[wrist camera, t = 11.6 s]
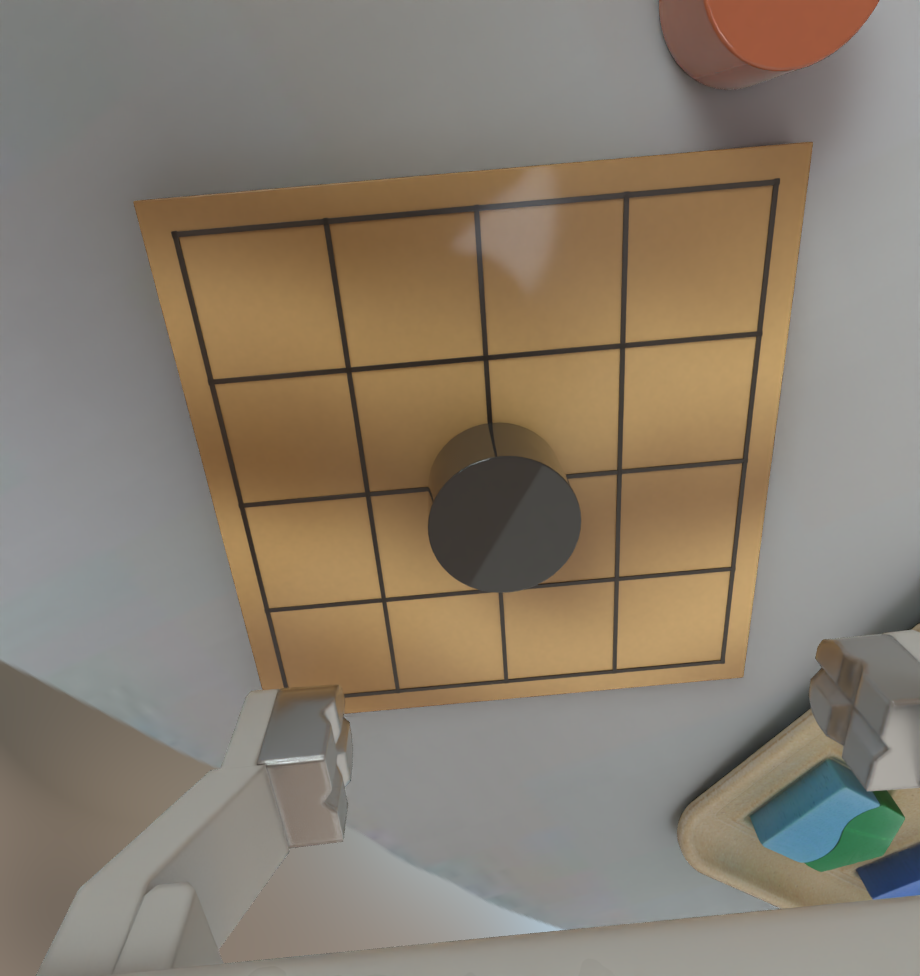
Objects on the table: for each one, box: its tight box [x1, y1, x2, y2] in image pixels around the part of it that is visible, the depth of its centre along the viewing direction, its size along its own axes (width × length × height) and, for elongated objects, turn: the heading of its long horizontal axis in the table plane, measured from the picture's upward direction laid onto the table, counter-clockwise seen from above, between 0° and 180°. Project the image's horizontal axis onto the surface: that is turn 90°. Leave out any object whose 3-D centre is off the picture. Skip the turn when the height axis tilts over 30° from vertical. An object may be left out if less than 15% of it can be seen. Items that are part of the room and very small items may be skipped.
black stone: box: [428, 423, 581, 593], centre depth 21 cm, size 5×5×3 cm
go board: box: [133, 142, 813, 714], centre depth 23 cm, size 20×20×1 cm
